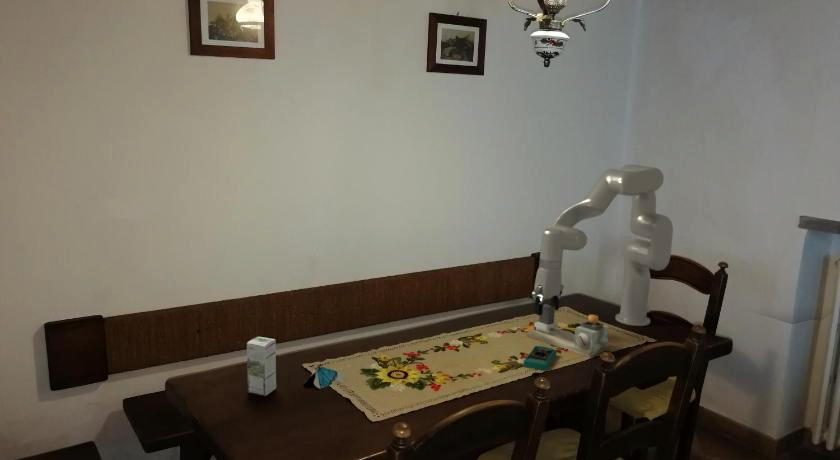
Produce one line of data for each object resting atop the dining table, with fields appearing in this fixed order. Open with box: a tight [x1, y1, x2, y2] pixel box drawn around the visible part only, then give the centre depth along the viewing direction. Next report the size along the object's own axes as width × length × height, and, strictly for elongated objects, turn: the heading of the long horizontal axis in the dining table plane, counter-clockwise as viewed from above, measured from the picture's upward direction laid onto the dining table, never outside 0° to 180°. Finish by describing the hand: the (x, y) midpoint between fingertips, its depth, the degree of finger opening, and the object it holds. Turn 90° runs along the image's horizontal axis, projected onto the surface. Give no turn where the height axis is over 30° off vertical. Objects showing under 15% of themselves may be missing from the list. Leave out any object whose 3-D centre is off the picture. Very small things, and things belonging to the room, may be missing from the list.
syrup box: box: [246, 336, 277, 397], centre depth 177 cm, size 6×6×14 cm
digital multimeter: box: [522, 345, 557, 371], centre depth 207 cm, size 7×15×3 cm, turn 156°
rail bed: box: [526, 319, 610, 358], centre depth 223 cm, size 12×25×9 cm, turn 44°
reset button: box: [587, 314, 599, 324], centre depth 215 cm, size 3×3×2 cm
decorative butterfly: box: [303, 360, 345, 390], centre depth 185 cm, size 10×6×10 cm
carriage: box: [533, 303, 559, 333], centre depth 229 cm, size 7×5×9 cm
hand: (546, 311), depth 228 cm, fingers open, 9 cm apart
